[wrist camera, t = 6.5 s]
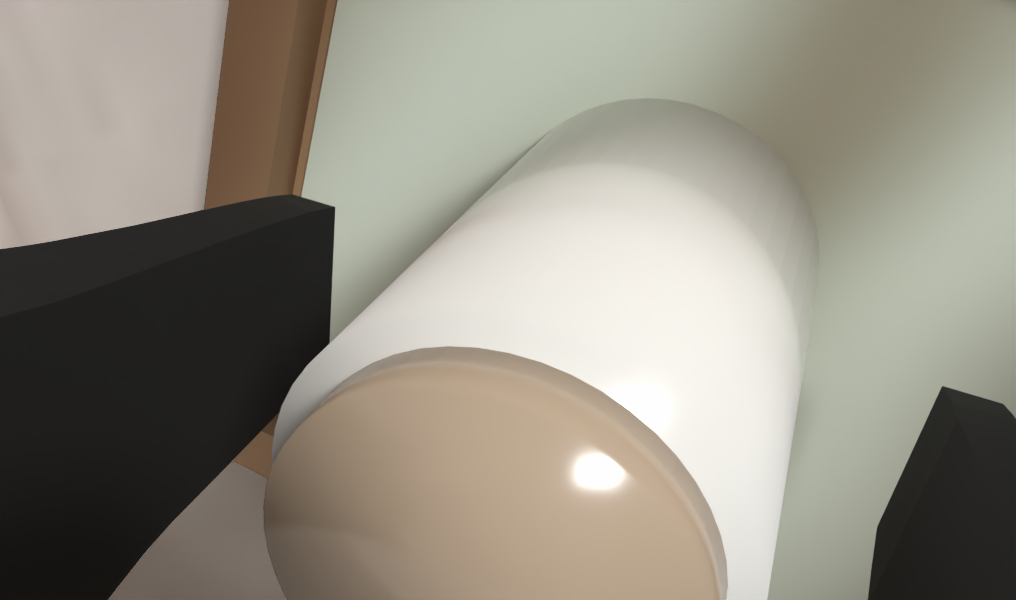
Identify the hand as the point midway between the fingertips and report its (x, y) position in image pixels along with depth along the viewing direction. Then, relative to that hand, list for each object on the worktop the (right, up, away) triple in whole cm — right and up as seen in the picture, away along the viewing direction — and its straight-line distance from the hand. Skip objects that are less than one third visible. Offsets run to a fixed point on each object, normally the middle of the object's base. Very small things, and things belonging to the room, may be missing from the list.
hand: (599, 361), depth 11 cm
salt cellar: (+1, +1, +2) cm, 3 cm away
